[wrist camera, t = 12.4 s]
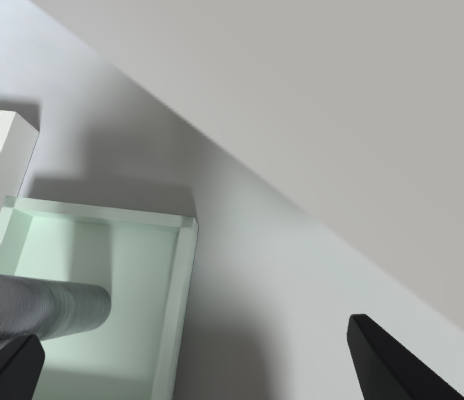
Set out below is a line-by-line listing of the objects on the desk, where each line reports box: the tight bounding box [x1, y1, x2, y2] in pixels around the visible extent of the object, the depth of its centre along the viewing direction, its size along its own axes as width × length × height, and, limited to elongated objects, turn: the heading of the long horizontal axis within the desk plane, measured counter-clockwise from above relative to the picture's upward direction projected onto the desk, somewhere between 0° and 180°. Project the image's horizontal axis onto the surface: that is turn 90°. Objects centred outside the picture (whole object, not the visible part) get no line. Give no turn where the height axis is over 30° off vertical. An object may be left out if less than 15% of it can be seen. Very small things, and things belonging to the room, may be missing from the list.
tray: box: [0, 196, 199, 400], centre depth 21 cm, size 13×13×3 cm
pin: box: [0, 274, 111, 349], centre depth 15 cm, size 4×4×14 cm
